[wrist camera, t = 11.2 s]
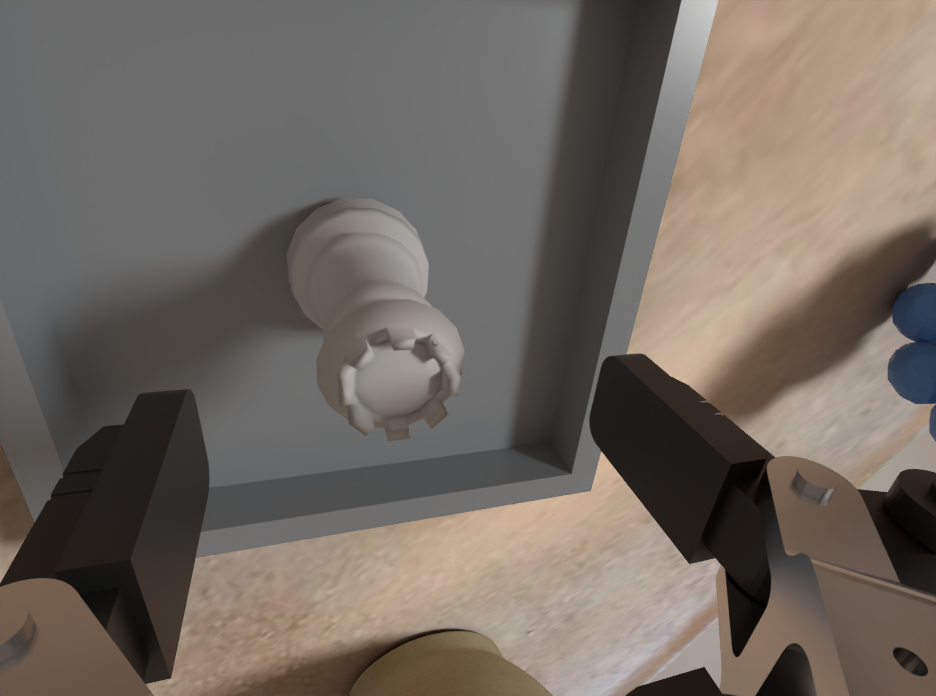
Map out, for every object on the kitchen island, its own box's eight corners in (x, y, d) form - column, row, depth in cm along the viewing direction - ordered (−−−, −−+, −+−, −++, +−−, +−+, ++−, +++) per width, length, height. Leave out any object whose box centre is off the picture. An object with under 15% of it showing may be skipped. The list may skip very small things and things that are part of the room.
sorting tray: (667, -53, 16) (737, -75, 14) (560, 448, 25) (590, 491, 23) (-174, -222, 10) (-327, -317, 8) (89, 514, 19) (59, 581, 17)
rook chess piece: (339, 344, 18) (369, 507, 12) (255, 243, 16) (231, 376, 9) (444, 278, 18) (535, 402, 12) (376, 165, 16) (442, 242, 9)
